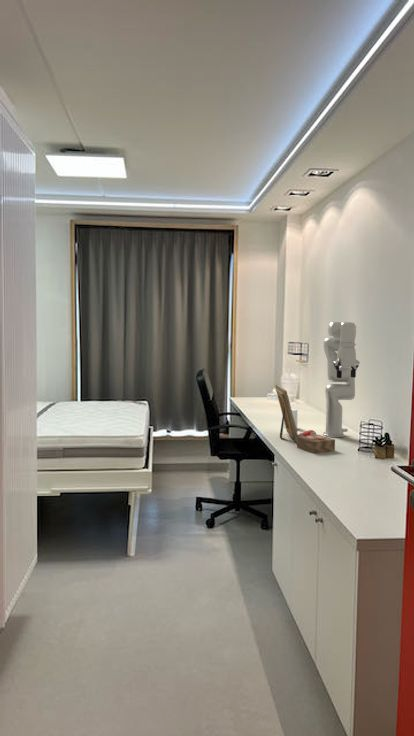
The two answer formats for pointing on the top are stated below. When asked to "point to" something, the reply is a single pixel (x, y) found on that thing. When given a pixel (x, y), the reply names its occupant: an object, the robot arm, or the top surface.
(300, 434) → the soda can
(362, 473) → the top surface
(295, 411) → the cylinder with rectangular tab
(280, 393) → the picture frame
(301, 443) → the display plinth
